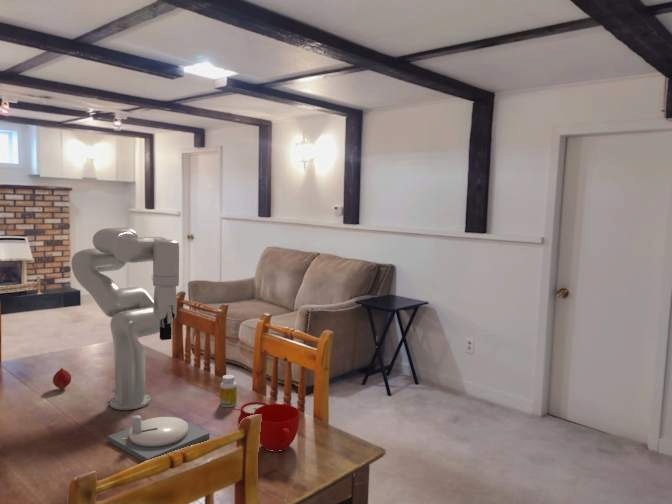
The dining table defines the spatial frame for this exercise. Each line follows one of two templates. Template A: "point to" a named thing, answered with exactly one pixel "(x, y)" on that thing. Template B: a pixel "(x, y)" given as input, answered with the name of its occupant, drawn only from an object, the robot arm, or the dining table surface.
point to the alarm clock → (249, 409)
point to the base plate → (148, 453)
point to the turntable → (157, 431)
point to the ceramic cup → (278, 425)
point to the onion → (62, 379)
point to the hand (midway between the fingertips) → (165, 338)
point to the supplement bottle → (228, 391)
